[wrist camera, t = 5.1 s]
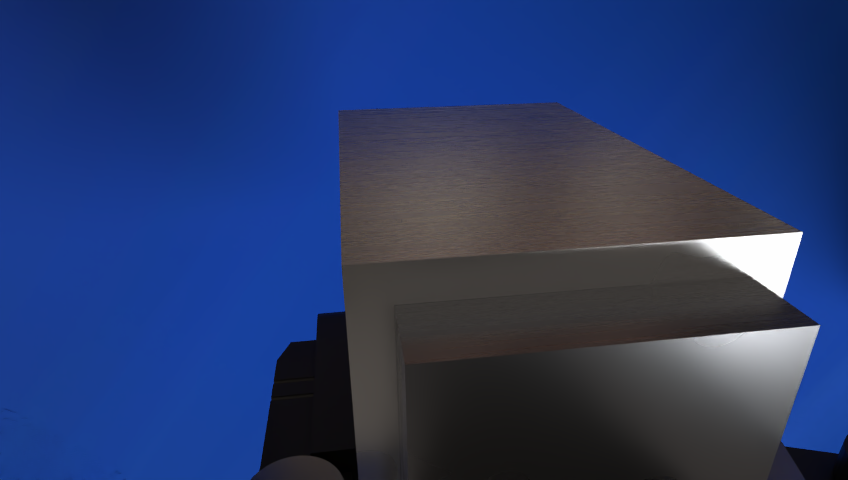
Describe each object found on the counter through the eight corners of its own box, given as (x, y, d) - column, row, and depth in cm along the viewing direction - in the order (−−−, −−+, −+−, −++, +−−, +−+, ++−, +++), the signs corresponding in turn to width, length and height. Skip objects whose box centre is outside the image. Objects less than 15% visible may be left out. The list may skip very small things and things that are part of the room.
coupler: (557, 101, 10) (884, 274, 4) (524, 463, 14) (670, 833, 8) (338, 110, 10) (342, 319, 4) (365, 482, 14) (389, 894, 7)
